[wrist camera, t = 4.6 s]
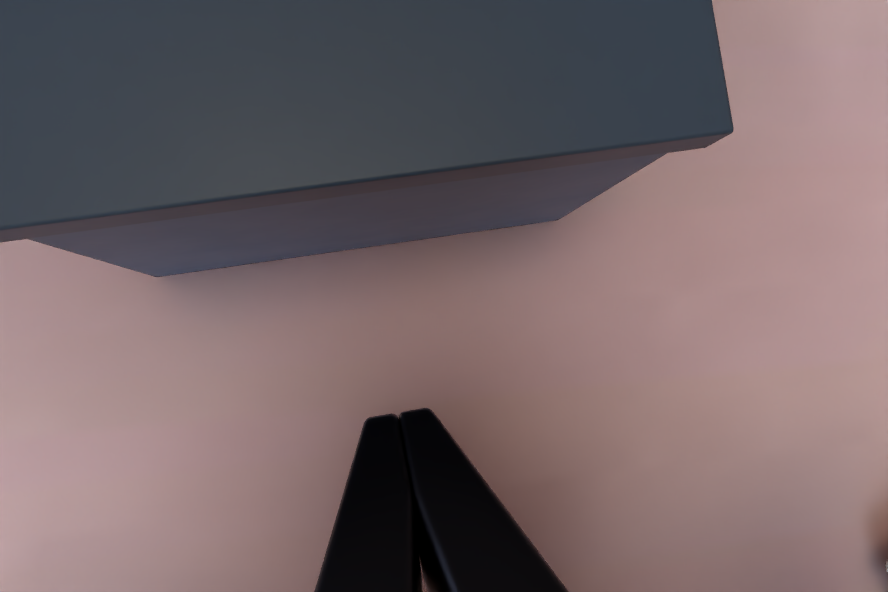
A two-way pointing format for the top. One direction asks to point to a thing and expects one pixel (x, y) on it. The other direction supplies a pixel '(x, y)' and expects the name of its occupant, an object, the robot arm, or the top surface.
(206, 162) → the storage box
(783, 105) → the top surface
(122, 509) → the top surface
